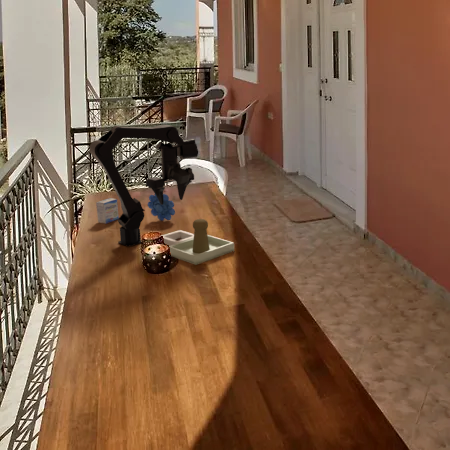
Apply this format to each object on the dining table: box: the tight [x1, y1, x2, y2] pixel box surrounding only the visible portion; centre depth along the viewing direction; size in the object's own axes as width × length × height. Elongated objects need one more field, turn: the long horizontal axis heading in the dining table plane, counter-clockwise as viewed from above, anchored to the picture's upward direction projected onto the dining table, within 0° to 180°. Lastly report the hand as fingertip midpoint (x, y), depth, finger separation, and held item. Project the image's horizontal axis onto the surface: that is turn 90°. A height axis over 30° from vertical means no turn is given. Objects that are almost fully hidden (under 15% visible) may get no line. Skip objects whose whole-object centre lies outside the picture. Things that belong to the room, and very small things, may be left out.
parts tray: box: [169, 234, 235, 266], centre depth 197 cm, size 18×14×3 cm
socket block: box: [161, 229, 194, 246], centre depth 208 cm, size 10×10×2 cm
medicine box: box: [95, 197, 120, 225], centre depth 235 cm, size 8×4×9 cm, turn 147°
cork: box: [192, 218, 210, 254], centre depth 196 cm, size 6×6×11 cm
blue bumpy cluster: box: [147, 193, 176, 222], centre depth 233 cm, size 12×7×12 cm, turn 77°
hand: (171, 202), depth 212 cm, fingers open, 9 cm apart
